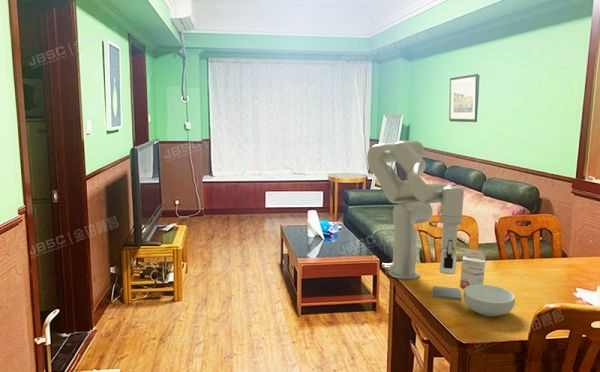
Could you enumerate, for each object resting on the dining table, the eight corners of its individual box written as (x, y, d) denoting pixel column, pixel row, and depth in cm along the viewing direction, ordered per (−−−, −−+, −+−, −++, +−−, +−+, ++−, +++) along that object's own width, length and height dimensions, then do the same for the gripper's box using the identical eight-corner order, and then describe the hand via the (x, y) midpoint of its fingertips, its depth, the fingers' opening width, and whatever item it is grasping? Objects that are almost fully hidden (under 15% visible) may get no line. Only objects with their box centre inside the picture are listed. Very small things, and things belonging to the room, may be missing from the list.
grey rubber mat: (432, 297, 176) (432, 295, 175) (432, 287, 185) (432, 285, 185) (460, 300, 173) (461, 298, 173) (459, 290, 182) (459, 288, 182)
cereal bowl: (463, 299, 174) (465, 281, 173) (512, 307, 168) (514, 288, 167) (460, 317, 158) (462, 297, 157) (514, 326, 152) (516, 305, 151)
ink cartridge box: (459, 287, 186) (462, 251, 184) (461, 283, 191) (463, 248, 189) (482, 290, 183) (485, 254, 181) (483, 286, 187) (486, 251, 185)
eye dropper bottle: (451, 275, 174) (454, 244, 173) (437, 272, 178) (439, 241, 176) (456, 273, 178) (459, 242, 176) (442, 269, 181) (445, 239, 180)
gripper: (440, 214, 184) (437, 259, 186) (441, 223, 168) (437, 272, 171) (460, 215, 182) (457, 260, 184) (463, 224, 166) (459, 274, 169)
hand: (447, 265), depth 178 cm, fingers closed on eye dropper bottle, 3 cm apart
